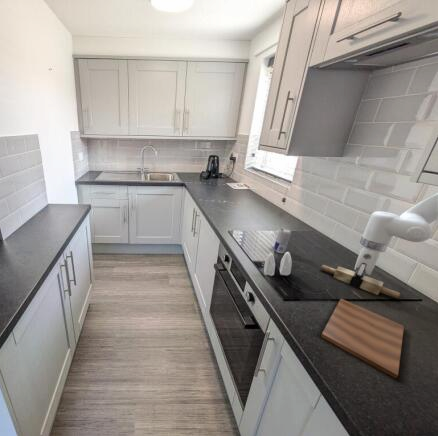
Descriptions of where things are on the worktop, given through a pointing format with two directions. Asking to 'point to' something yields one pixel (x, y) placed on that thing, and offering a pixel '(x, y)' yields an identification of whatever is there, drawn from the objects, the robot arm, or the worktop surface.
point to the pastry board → (366, 336)
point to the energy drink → (282, 240)
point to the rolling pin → (367, 283)
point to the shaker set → (284, 266)
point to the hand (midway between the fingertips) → (355, 283)
